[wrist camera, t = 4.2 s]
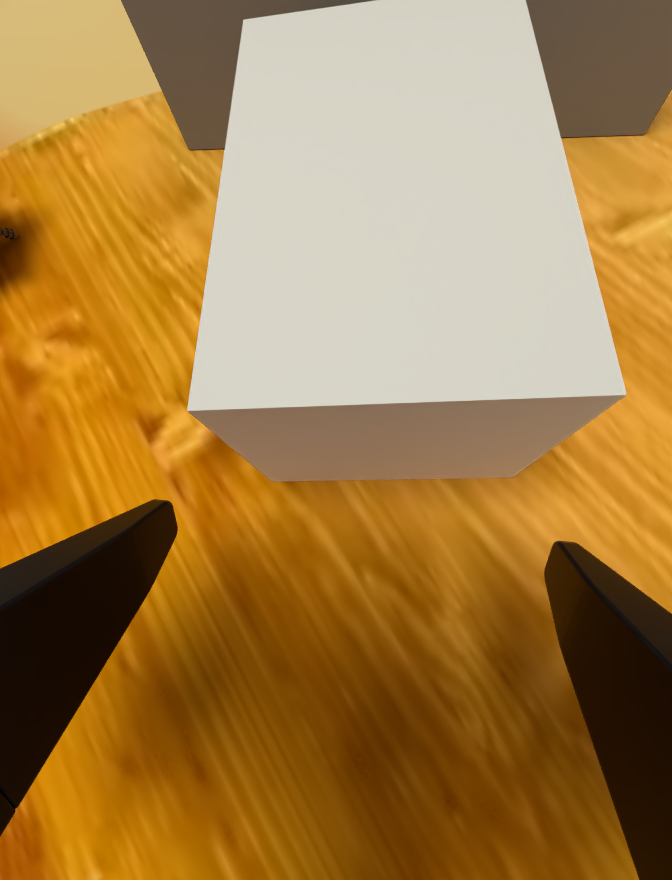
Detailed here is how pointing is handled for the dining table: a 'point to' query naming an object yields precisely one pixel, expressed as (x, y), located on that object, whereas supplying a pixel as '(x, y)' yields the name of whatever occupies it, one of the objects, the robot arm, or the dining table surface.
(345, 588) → the dining table surface
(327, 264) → the white block
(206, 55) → the charcoal board
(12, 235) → the game die
